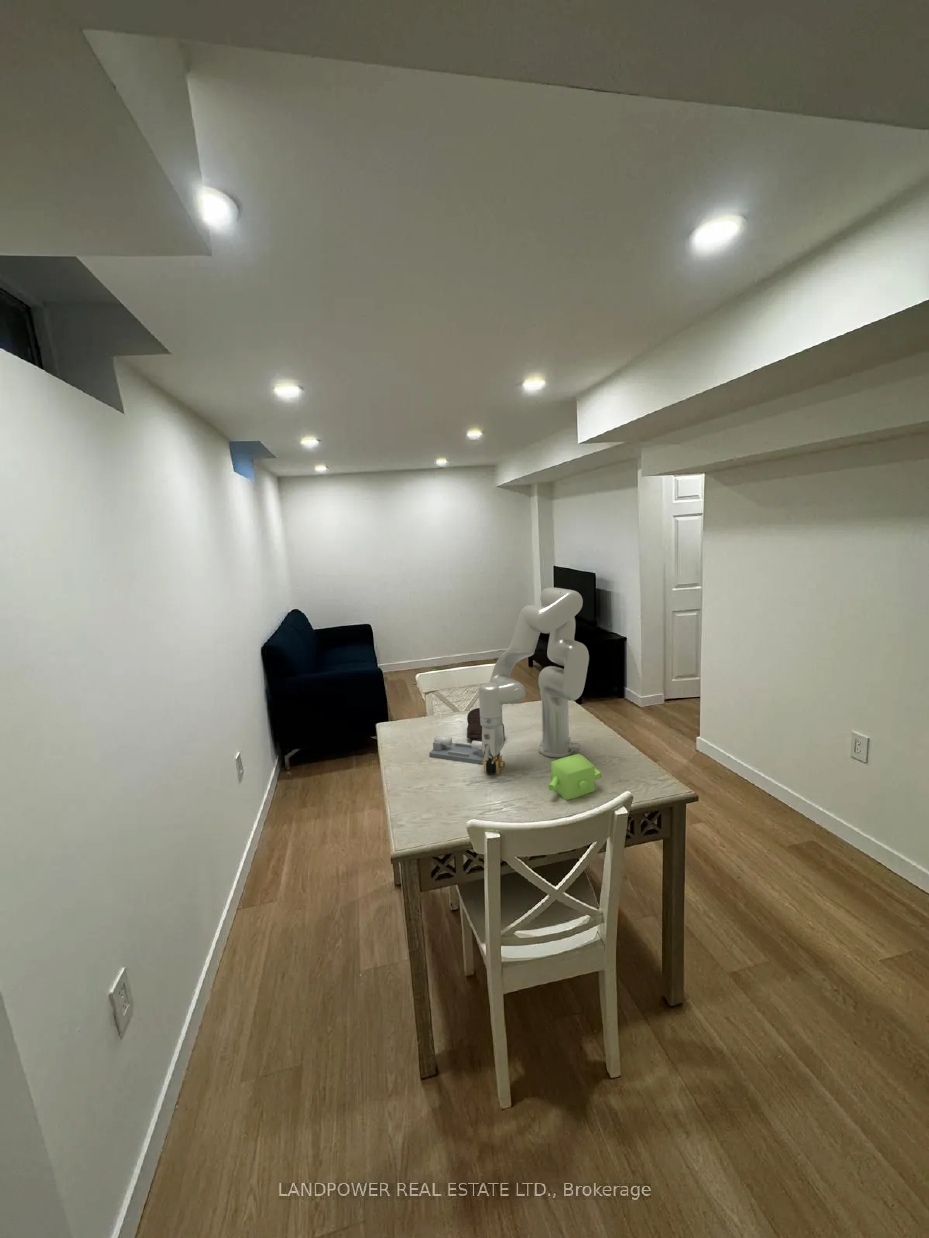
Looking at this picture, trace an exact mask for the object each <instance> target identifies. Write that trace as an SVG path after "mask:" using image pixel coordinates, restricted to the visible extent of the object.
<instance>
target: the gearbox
mask: <svg viewBox="0 0 929 1238" xmlns="http://www.w3.org/2000/svg"><path fill="white" fill-rule="evenodd" d="M601 778H602V772H601V771H600V770H599V769H597V768H596V767H595V765H594V764H593V763H592V762H591V761H589V759H587V758H586V757H585V756H584V755H582V754H580V753H576V754H572V755H571V754H570V755H568V756H566V757H560V758H558V759H555V760H552V761H551V762H550V782H549V784H548V787H547V788H548V790H549V791H552V792H554V791H555V792H556V793H557V794H558V795H559V796H561V797H562V798H563V799H565V800H566V801H567V800H571V799H576V798H578V797H582V796H585V795H587V794H590V793H593V792H595V781H596V780H598V779H601Z"/></svg>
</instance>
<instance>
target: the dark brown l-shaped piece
mask: <svg viewBox="0 0 929 1238" xmlns="http://www.w3.org/2000/svg"><path fill="white" fill-rule="evenodd" d="M466 718H467V719H466V720H467V721H466V722H467V728H466V738H467V739H469V740H471V741H482V726H481V724H480V707H477V708H473V709H471V710H470V711H469V712H468V713H467V716H466ZM502 725H503V734H504V740H505V739H506V738H505V733H506V732H505V726H504V723H503V724H502Z"/></svg>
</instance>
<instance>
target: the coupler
mask: <svg viewBox="0 0 929 1238" xmlns="http://www.w3.org/2000/svg"><path fill="white" fill-rule="evenodd" d="M489 758H491V759H492V756H489ZM494 763H495V768H496V773H495V774H494V775H497V776H499V775H500V774H501V772H502V770H503V769H504V768H505V765H506V763H505V760H503V755H501V754H500V755H497V756H494ZM481 765H482V766H484V767H483V768H484V771H483V772H484V773H485V774H487V773H486V763H485V760H484V758H483V759H482V764H481Z"/></svg>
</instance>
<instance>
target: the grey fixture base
mask: <svg viewBox="0 0 929 1238" xmlns="http://www.w3.org/2000/svg"><path fill="white" fill-rule="evenodd" d="M471 741H472V742H471V743H470V744H469V743H465V742H463V743H462V742H453V737H450V736H448V737H447V736H443V735H442V736H441V735H435V737H434V739H433V742H432V750H430V752H429V753H428V754H429V755H428V756H429V758H436V759H444V760H450V761H457V762H463V763H469V764H475V765H476V764H478V765H482V759H483V758H484V754H483V752H482V740H471ZM489 754H491V752H490V753H489Z"/></svg>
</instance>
